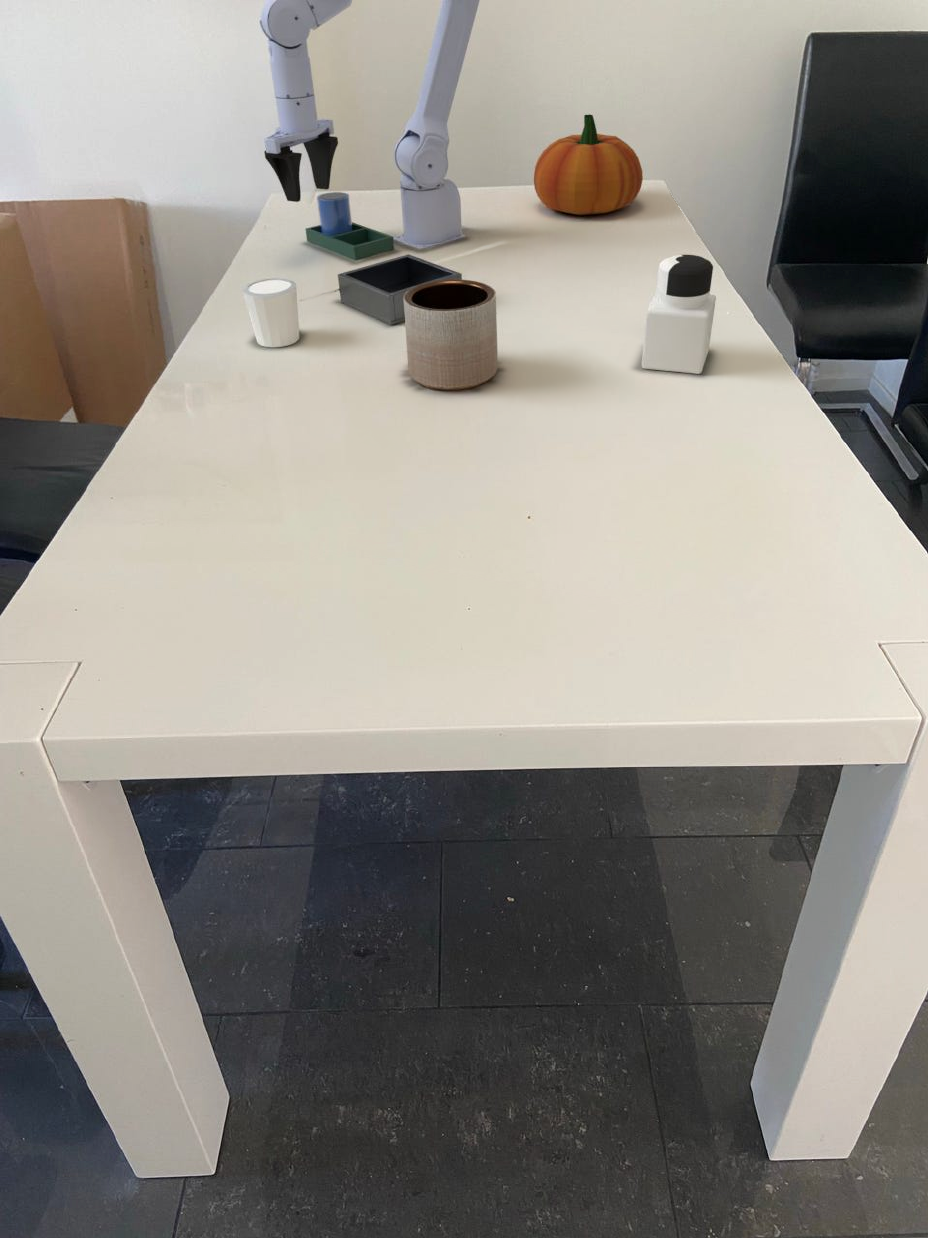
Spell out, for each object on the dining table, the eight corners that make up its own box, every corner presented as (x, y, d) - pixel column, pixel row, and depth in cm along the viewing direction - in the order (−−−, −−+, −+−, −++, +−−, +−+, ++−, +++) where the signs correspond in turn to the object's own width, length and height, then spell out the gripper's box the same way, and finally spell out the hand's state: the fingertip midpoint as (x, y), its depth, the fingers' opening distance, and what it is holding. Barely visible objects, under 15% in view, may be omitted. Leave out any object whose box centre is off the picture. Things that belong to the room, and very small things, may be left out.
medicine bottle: (708, 351, 111) (722, 251, 104) (701, 375, 106) (715, 271, 98) (651, 346, 113) (660, 247, 106) (640, 369, 108) (650, 267, 100)
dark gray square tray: (410, 281, 136) (408, 253, 133) (463, 301, 128) (461, 273, 126) (340, 302, 130) (337, 274, 127) (391, 325, 122) (388, 295, 120)
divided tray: (345, 233, 156) (343, 218, 155) (394, 252, 147) (393, 236, 146) (307, 243, 153) (305, 228, 151) (355, 263, 143) (353, 247, 142)
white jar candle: (309, 329, 122) (301, 276, 118) (297, 349, 117) (288, 295, 112) (260, 329, 123) (250, 277, 118) (246, 349, 118) (235, 295, 113)
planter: (511, 362, 111) (511, 283, 105) (475, 398, 103) (473, 316, 97) (433, 350, 115) (428, 274, 109) (392, 384, 107) (385, 304, 101)
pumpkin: (627, 190, 171) (634, 101, 162) (650, 218, 156) (658, 121, 147) (527, 196, 171) (527, 107, 161) (540, 225, 156) (541, 128, 146)
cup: (342, 233, 155) (337, 189, 150) (359, 240, 151) (354, 195, 147) (317, 240, 152) (311, 196, 148) (333, 247, 149) (328, 201, 144)
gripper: (302, 85, 138) (315, 181, 147) (241, 102, 128) (259, 203, 137) (340, 87, 135) (350, 184, 144) (280, 105, 126) (296, 208, 134)
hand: (308, 194), depth 140 cm, fingers open, 7 cm apart
